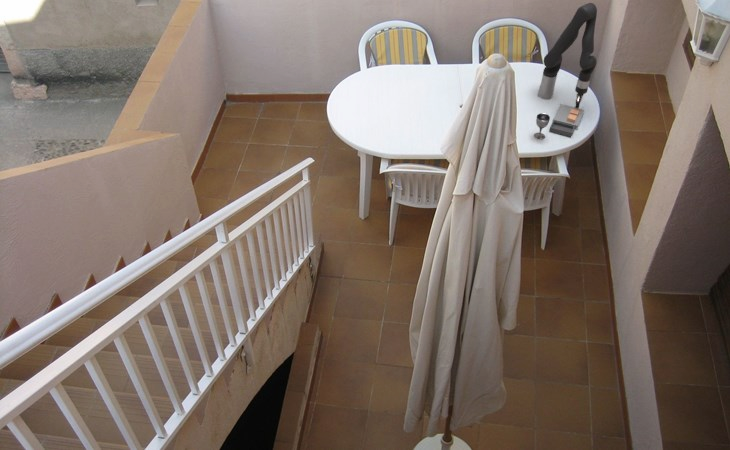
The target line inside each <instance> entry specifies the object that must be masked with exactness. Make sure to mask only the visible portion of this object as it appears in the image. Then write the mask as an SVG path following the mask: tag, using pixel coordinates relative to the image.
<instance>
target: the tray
mask: <svg viewBox="0 0 730 450" xmlns="http://www.w3.org/2000/svg"><path fill="white" fill-rule="evenodd" d="M574 128H575V125H574V126H572V125H568V124H564V123H561V122H557V121H554V120H553V119H552V122H551V125H550V127H549V131H548V132H549V133H553V134H556V135H559V136H564V137H569V138H572V136H573V133H574V131H575V129H574Z"/></svg>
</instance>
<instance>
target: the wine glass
mask: <svg viewBox="0 0 730 450" xmlns="http://www.w3.org/2000/svg"><path fill="white" fill-rule="evenodd" d="M535 118H536V120H535V121H536V122H535V123H536V126H537V127H538V128H539V132H535V133H534V134H533V138H535V139H536V140H541V141H542V140H544V139H545V138H546V136H545V134H544V133H542V130H543V129H544V128H547V126H548V124H549V123H550V119H551V116H550V115H549V114H547V113H543V112H541V113H539V114H537V115H536V117H535Z"/></svg>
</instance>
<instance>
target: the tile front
mask: <svg viewBox="0 0 730 450" xmlns="http://www.w3.org/2000/svg"><path fill="white" fill-rule="evenodd" d="M576 118H577V116H576V115H572V114H569V116H568V118H567V121H568V122H572V123H575V121H576Z"/></svg>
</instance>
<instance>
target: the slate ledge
mask: <svg viewBox="0 0 730 450" xmlns="http://www.w3.org/2000/svg"><path fill="white" fill-rule="evenodd" d="M572 108H573V109H577V110H579V114H578V116H577V118H576V121H575V123H572V122H568V121H567V118H568V116H569V114H570V111H571V109H572ZM584 112H585V109H584V108H580V107H579V108H576V107H575V106H570V105H567V104H564V103H563V104H562V103H560V104H559V106H558V108H557V110H556V112H555V115H554V117H553V119H552V121H553V120H554V121H557V122H561V123H564V124H568V125H572V126H574V125H575V128H574V130H576V129H577V130H578V127H579V125H580V122H581V120H582V118H583V115H584Z"/></svg>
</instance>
